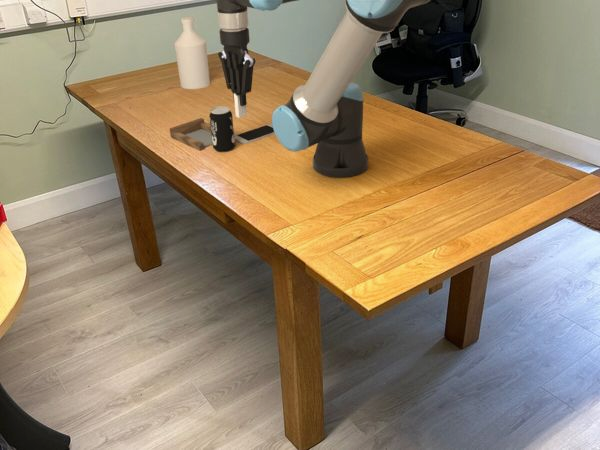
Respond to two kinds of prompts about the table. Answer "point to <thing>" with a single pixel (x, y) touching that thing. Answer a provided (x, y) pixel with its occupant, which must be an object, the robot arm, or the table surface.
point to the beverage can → (222, 129)
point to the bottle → (191, 57)
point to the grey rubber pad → (202, 137)
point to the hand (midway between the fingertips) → (241, 115)
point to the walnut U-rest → (190, 127)
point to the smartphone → (254, 134)
